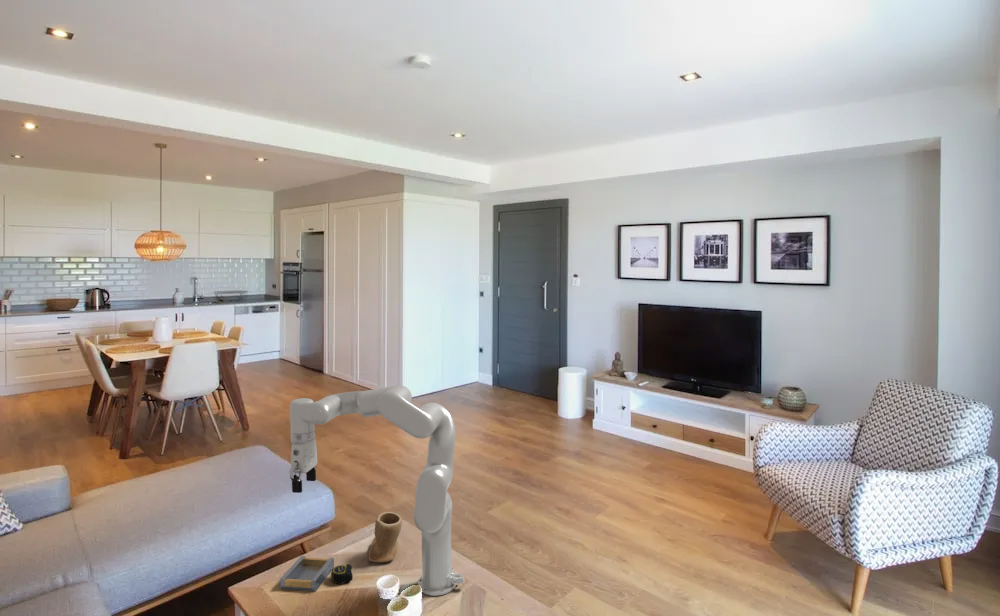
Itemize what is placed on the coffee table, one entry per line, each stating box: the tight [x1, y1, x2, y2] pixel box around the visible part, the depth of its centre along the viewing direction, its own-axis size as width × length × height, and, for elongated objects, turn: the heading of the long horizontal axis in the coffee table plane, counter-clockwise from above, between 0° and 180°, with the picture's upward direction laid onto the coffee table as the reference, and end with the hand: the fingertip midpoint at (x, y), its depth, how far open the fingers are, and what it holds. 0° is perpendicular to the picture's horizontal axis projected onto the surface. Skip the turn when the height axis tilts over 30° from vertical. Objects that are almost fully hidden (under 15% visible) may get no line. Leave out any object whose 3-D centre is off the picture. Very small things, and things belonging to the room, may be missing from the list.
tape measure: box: [330, 563, 353, 584], centre depth 180 cm, size 7×7×4 cm
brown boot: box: [368, 511, 403, 563], centre depth 196 cm, size 15×12×15 cm
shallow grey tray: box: [279, 555, 335, 592], centre depth 181 cm, size 12×14×4 cm
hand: (304, 486), depth 180 cm, fingers open, 9 cm apart
